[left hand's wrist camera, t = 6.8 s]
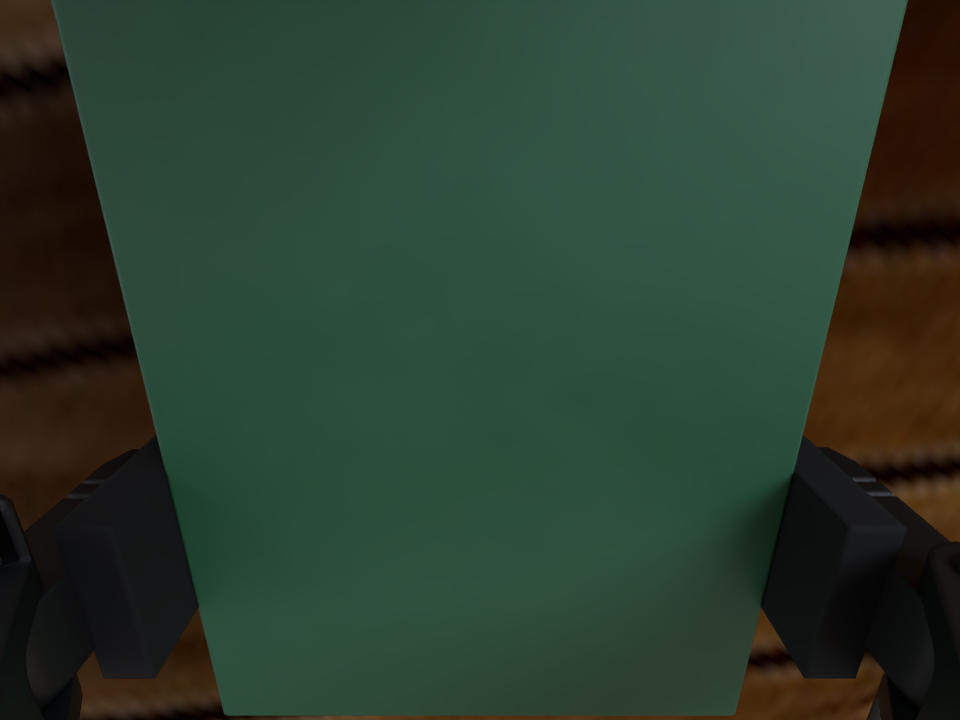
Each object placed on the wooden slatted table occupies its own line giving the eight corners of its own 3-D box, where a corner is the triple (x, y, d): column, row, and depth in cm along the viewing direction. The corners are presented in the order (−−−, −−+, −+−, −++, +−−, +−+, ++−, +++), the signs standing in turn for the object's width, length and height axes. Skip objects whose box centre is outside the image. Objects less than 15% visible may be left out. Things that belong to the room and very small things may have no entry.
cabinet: (294, -1, 14) (-14, -244, 5) (664, -1, 14) (972, -244, 5) (342, 451, 19) (222, 718, 10) (617, 451, 19) (737, 717, 10)
